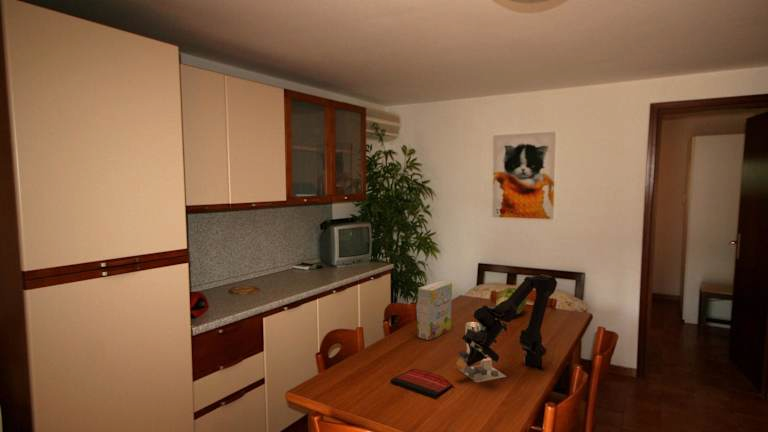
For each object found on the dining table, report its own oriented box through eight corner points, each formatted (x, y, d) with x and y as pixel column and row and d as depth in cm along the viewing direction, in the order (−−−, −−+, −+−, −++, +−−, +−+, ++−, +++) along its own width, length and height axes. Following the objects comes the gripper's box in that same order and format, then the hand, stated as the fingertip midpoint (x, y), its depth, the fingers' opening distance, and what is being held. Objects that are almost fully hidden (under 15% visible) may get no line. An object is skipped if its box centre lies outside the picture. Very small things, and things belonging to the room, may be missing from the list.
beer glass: (469, 360, 191) (469, 327, 190) (462, 354, 198) (462, 322, 197) (483, 358, 193) (483, 325, 192) (476, 353, 200) (476, 321, 199)
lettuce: (488, 319, 250) (488, 292, 248) (505, 308, 271) (505, 283, 270) (514, 324, 241) (514, 296, 240) (529, 312, 262) (530, 286, 261)
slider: (488, 366, 182) (488, 357, 182) (491, 369, 180) (491, 359, 180) (480, 368, 181) (480, 358, 181) (483, 370, 179) (483, 361, 178)
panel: (486, 365, 186) (486, 357, 186) (506, 378, 173) (506, 370, 173) (457, 370, 181) (457, 362, 181) (476, 385, 168) (476, 375, 168)
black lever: (464, 366, 181) (464, 350, 181) (468, 369, 178) (468, 353, 178) (459, 366, 181) (459, 351, 180) (463, 370, 177) (463, 354, 177)
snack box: (431, 341, 215) (431, 290, 213) (416, 338, 220) (416, 287, 218) (452, 329, 232) (452, 282, 230) (438, 326, 237) (438, 280, 235)
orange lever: (474, 370, 174) (459, 358, 171) (479, 374, 171) (463, 361, 168) (471, 375, 174) (455, 363, 171) (476, 379, 170) (460, 366, 167)
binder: (436, 394, 157) (390, 378, 170) (436, 400, 157) (389, 384, 170) (457, 380, 170) (413, 366, 183) (457, 386, 170) (413, 372, 183)
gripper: (465, 315, 180) (442, 345, 177) (491, 328, 162) (467, 363, 159) (481, 330, 183) (459, 360, 180) (509, 345, 166) (485, 379, 163)
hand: (467, 365), depth 171 cm, fingers closed, pressing on orange lever
